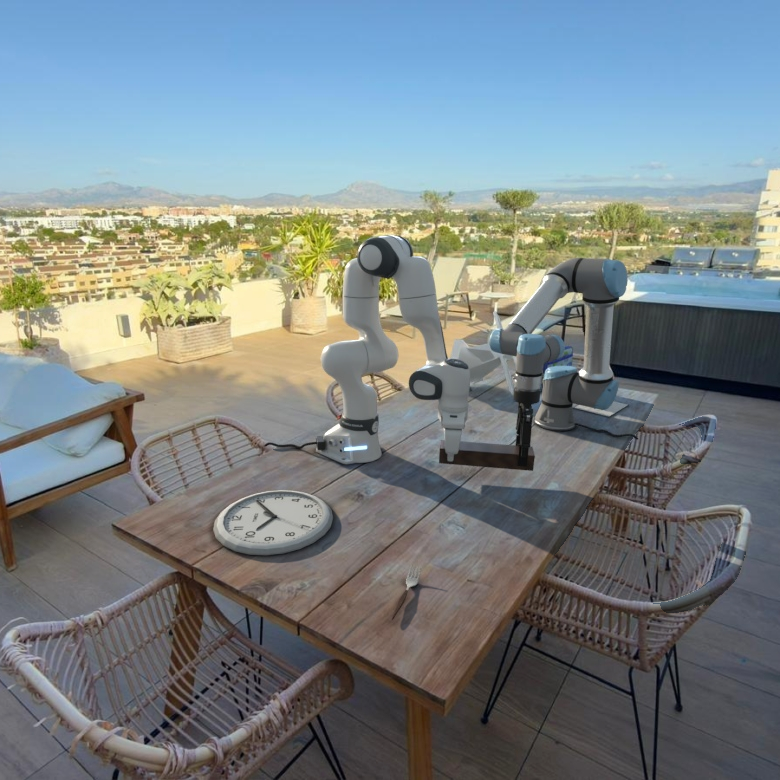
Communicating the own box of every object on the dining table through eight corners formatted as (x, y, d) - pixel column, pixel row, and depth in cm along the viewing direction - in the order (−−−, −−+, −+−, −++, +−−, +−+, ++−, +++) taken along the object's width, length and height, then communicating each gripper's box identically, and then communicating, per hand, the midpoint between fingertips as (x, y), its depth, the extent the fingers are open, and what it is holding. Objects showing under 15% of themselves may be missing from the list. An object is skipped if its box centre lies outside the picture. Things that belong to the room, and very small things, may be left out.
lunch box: (545, 396, 239) (550, 351, 232) (524, 391, 246) (528, 347, 240) (572, 385, 256) (577, 343, 250) (552, 380, 263) (557, 339, 257)
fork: (385, 619, 101) (385, 611, 101) (410, 571, 116) (411, 563, 115) (398, 623, 100) (398, 614, 100) (422, 574, 115) (422, 566, 114)
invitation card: (608, 416, 214) (573, 407, 224) (608, 416, 214) (573, 408, 224) (628, 404, 229) (594, 396, 238) (628, 405, 229) (594, 397, 238)
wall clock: (331, 546, 121) (198, 551, 119) (331, 552, 122) (199, 557, 119) (333, 485, 150) (227, 488, 147) (334, 490, 150) (227, 493, 148)
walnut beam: (530, 461, 162) (532, 446, 160) (533, 471, 155) (534, 455, 154) (439, 454, 165) (440, 439, 163) (438, 463, 159) (439, 448, 157)
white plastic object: (461, 429, 252) (437, 405, 227) (444, 352, 274) (420, 323, 250) (535, 404, 240) (518, 377, 215) (510, 326, 262) (492, 293, 237)
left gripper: (442, 400, 167) (439, 440, 171) (442, 424, 147) (439, 469, 152) (461, 401, 166) (459, 441, 171) (464, 426, 147) (461, 470, 151)
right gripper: (510, 377, 161) (505, 446, 168) (517, 398, 142) (511, 474, 150) (535, 378, 160) (529, 447, 167) (546, 399, 142) (538, 475, 149)
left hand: (449, 454), depth 161 cm, fingers closed on walnut beam, 6 cm apart
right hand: (520, 460), depth 158 cm, fingers closed on walnut beam, 7 cm apart
